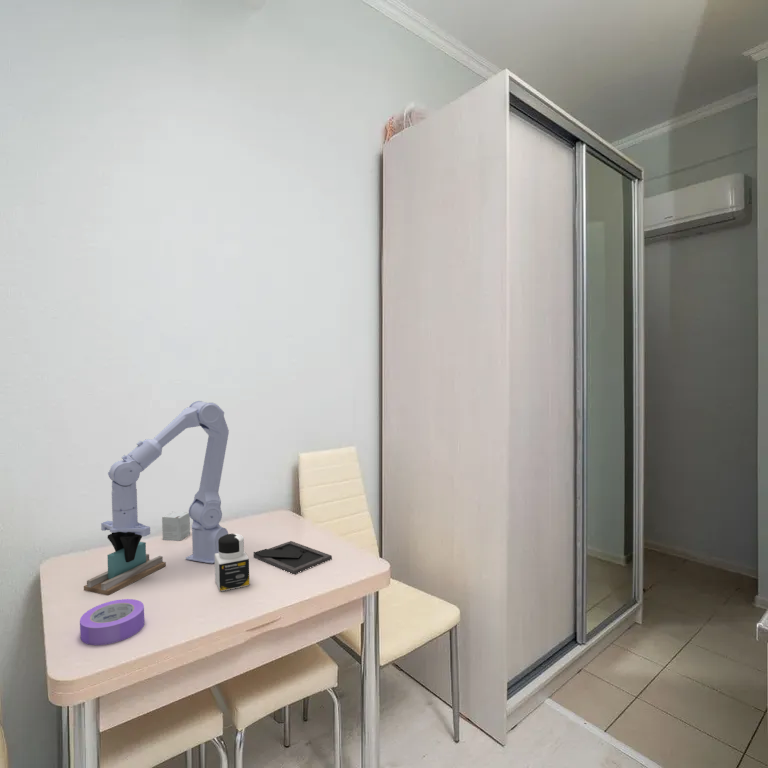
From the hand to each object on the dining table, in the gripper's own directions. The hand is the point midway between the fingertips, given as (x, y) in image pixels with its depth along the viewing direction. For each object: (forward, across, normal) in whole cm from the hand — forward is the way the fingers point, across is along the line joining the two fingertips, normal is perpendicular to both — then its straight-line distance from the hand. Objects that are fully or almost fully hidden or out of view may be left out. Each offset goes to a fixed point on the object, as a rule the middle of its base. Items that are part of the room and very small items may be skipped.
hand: (126, 560), depth 128 cm
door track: (+4, 0, 0) cm, 4 cm away
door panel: (+3, 0, 0) cm, 3 cm away
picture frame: (+5, +34, +25) cm, 42 cm away
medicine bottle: (+5, +28, +6) cm, 29 cm away
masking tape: (+5, +18, -20) cm, 27 cm away
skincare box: (+5, -10, +28) cm, 30 cm away
